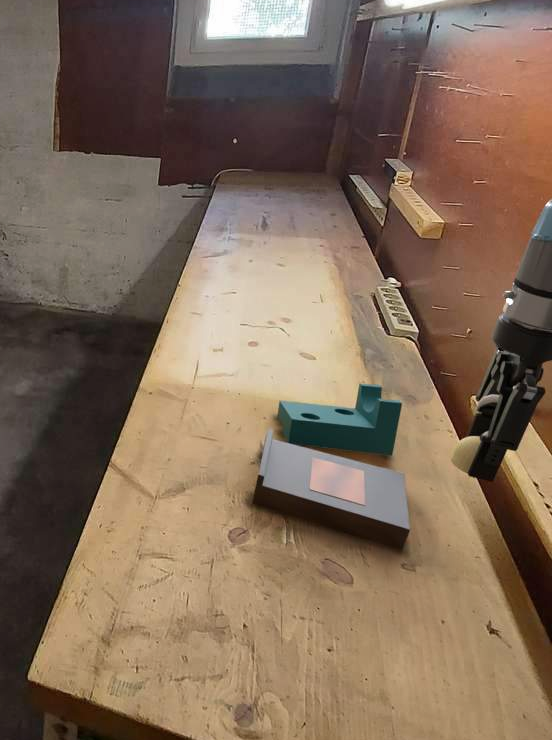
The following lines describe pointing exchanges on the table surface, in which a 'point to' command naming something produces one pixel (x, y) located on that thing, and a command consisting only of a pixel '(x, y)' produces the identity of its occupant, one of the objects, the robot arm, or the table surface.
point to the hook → (470, 442)
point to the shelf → (333, 492)
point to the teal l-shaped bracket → (344, 423)
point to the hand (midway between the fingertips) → (476, 464)
